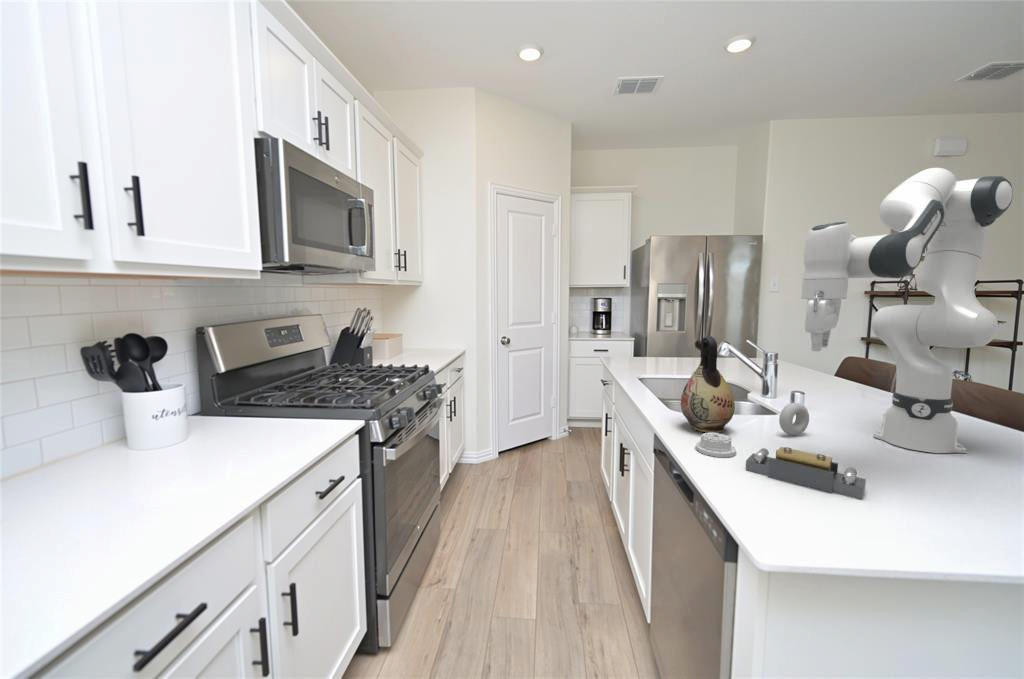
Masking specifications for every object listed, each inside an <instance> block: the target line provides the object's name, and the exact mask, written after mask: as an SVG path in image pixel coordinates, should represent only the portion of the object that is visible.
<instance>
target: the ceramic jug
mask: <svg viewBox="0 0 1024 679" xmlns="http://www.w3.org/2000/svg"><path fill="white" fill-rule="evenodd" d="M694 345H695V346H694V347H695V348H696V349H698V350H699V351H700V353H701V354H700V355H701V356H700V357H701V358H700V362H699V364H698V367H697V368H696V369H695V370H694V372H692V374H691V376H690V377H689V378H688V381H687V382H686V384H685V385H684V388H683V390H682V392H681V398H680V408H681V412H682V415H683V416H684V417H685V419H686V421H688V423H689V424H690V426H691V429H692V428H694V429H695V430H694V429H693V430H694V431H696V430H698V431H697V432H699V431H701V432H700V433H703V432H705V433H708V432H710V433H712V432H713V433H719V434H721V433H723V432H724V431H725V427H726V426H727V425H728V423H730V422H731V420H732V419H733V416H734V413H735V409H736V408H735V407H736V404H735V400H734V399H735V398H734V396H733V392H732V390H731V387H730V386H729V384H728V382H727V381H726V379H725V378H724V376H723V375H722V373H721V372H720V371H719V369H717V366H718V364H717V362H718V361H717V360H718V353H719V352H718V343H717V340H716V339H715V337H713V336H712V335H706V336H704V337H702V340H700V339H696V341H695V343H694Z"/></svg>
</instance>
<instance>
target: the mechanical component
mask: <svg viewBox="0 0 1024 679" xmlns="http://www.w3.org/2000/svg"><path fill="white" fill-rule="evenodd" d="M696 449H697V450H698V451H699V453H700V452H701V453H700V454H702V453H703V454H702V455H705V454H706V456H708V455H710V456H709V457H713V456H715V457H714V458H731V457H735V456H736V455H737V448H736V447H735V446H734V445H732V437H731V436H729V435H727V434H726V435H725V433H713V432H712V433H710V432H708V433H703V432H702V434H700V441H698V442H695V450H696ZM697 450H696V451H697ZM698 451H697V452H698Z"/></svg>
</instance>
